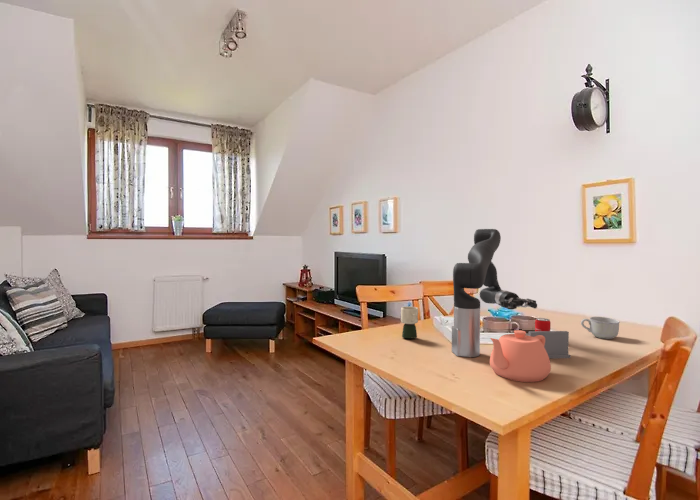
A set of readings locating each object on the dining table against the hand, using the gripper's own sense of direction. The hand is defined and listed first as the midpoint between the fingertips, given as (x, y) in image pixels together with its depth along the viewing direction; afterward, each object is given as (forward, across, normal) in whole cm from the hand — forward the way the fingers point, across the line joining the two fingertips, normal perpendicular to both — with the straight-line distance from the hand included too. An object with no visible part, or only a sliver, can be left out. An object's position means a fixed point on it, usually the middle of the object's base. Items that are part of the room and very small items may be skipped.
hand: (525, 306), depth 154 cm
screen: (+20, -2, +14) cm, 24 cm away
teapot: (+36, -22, +14) cm, 45 cm away
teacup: (-6, +37, +16) cm, 40 cm away
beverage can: (+12, 0, +15) cm, 19 cm away
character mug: (-8, -46, +15) cm, 49 cm away
